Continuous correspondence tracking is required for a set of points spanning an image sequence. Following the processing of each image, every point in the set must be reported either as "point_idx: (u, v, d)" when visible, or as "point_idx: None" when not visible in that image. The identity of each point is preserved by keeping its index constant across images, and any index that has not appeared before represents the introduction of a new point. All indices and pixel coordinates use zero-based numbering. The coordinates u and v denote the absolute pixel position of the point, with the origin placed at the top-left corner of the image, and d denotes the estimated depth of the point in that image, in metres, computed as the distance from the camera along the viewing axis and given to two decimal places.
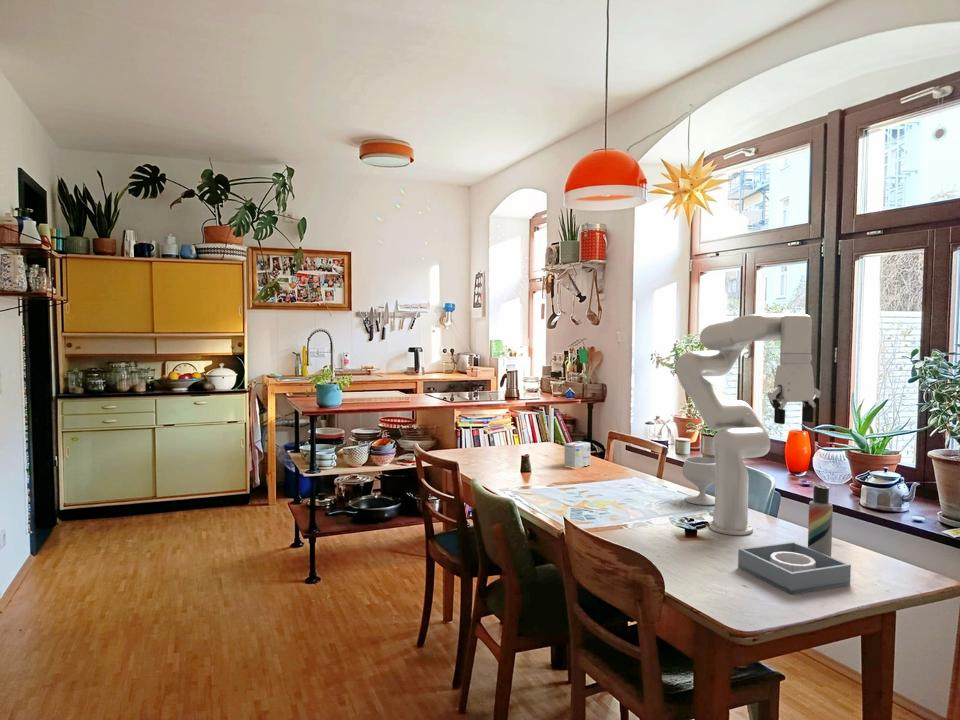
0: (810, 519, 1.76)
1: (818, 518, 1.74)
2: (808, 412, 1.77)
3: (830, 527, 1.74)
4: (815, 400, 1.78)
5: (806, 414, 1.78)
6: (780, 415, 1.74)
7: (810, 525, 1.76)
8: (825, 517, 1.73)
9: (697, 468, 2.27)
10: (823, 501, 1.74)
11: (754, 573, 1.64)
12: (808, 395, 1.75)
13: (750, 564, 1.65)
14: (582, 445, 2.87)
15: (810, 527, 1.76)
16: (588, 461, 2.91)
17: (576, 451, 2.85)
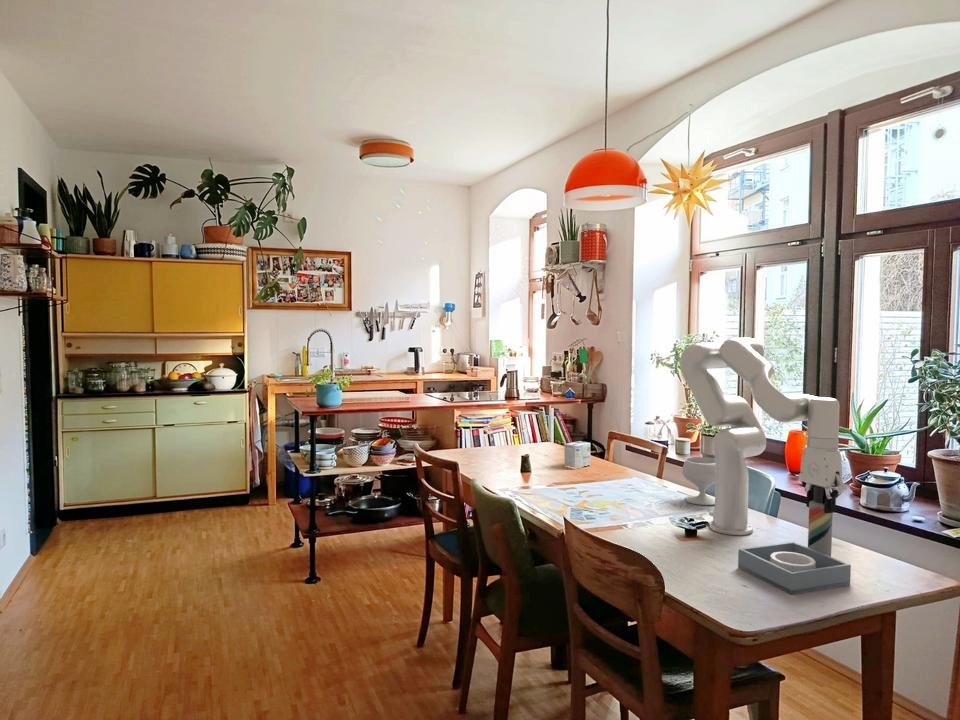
0: (810, 519, 1.76)
1: (818, 518, 1.74)
2: None
3: (830, 527, 1.74)
4: None
5: (812, 499, 1.78)
6: None
7: (810, 525, 1.76)
8: (825, 517, 1.73)
9: (697, 468, 2.27)
10: (823, 501, 1.74)
11: (754, 573, 1.64)
12: None
13: (750, 564, 1.65)
14: (582, 445, 2.87)
15: (810, 527, 1.76)
16: (588, 461, 2.91)
17: (576, 451, 2.85)
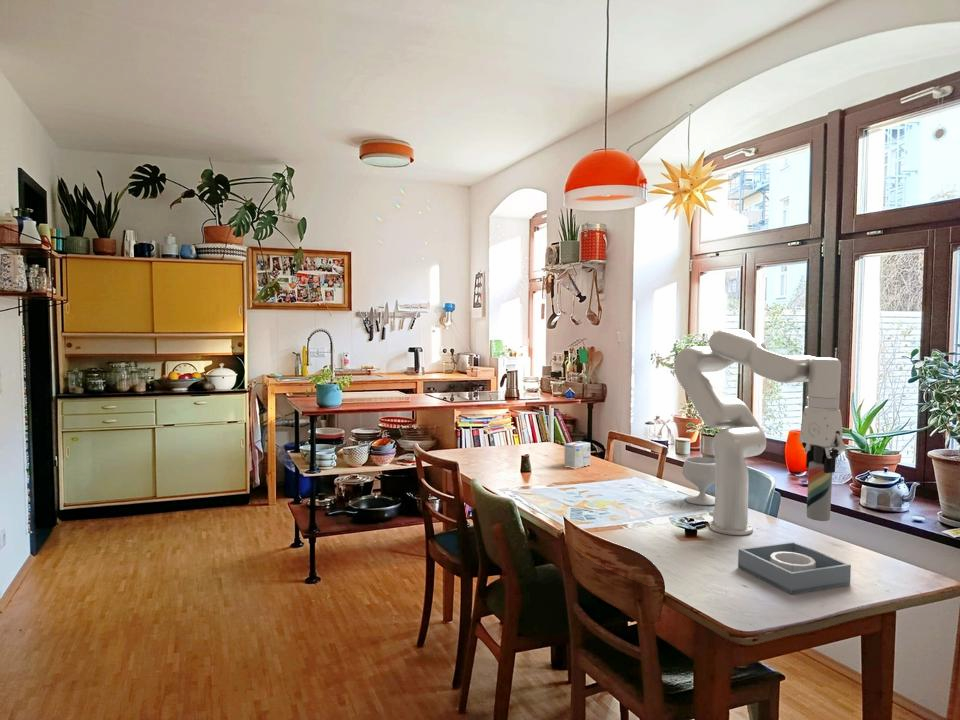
0: (810, 479, 1.75)
1: (818, 478, 1.73)
2: None
3: (829, 487, 1.73)
4: None
5: (812, 460, 1.78)
6: None
7: (809, 485, 1.75)
8: (825, 477, 1.73)
9: (697, 468, 2.27)
10: (823, 461, 1.73)
11: (754, 573, 1.64)
12: None
13: (750, 564, 1.65)
14: (582, 445, 2.87)
15: (809, 487, 1.75)
16: (588, 461, 2.91)
17: (576, 451, 2.85)
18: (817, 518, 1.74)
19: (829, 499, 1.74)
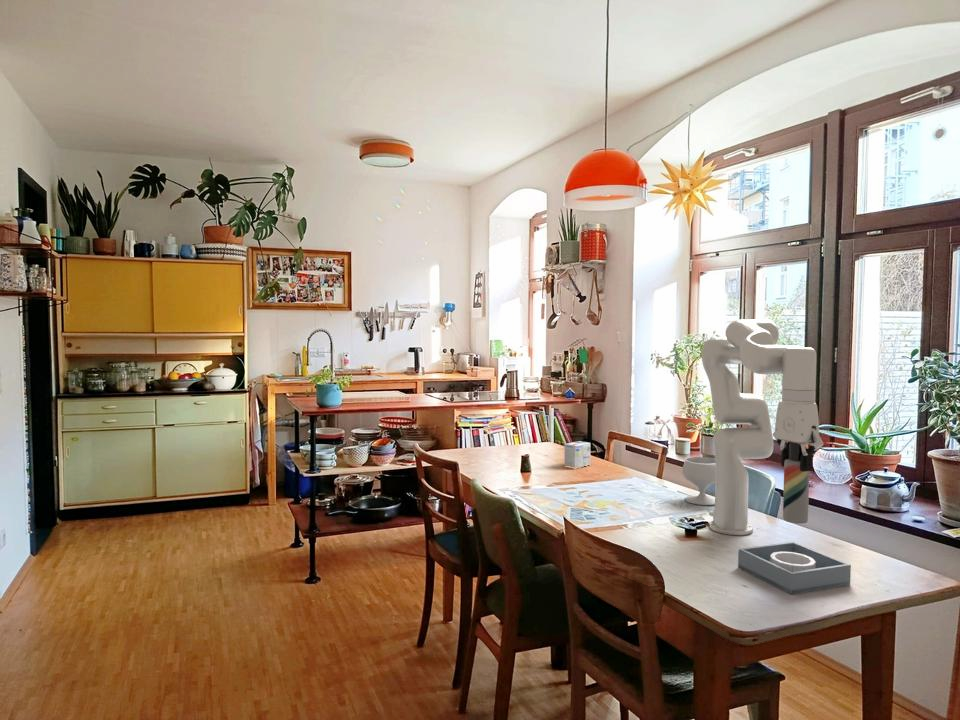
0: (785, 479, 1.63)
1: (794, 477, 1.60)
2: None
3: (807, 487, 1.60)
4: None
5: (788, 458, 1.65)
6: None
7: (785, 485, 1.63)
8: (801, 476, 1.60)
9: (697, 468, 2.27)
10: (799, 459, 1.61)
11: (754, 573, 1.64)
12: None
13: (750, 564, 1.65)
14: (582, 445, 2.87)
15: (785, 487, 1.63)
16: (588, 461, 2.91)
17: (576, 451, 2.85)
18: (794, 520, 1.61)
19: (806, 500, 1.61)
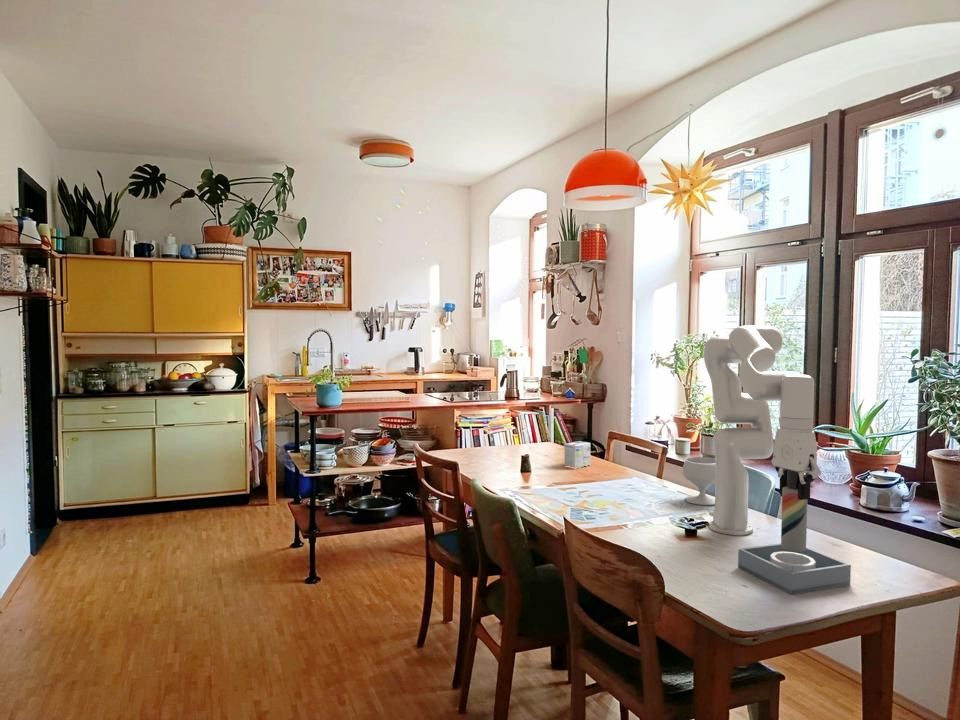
0: (783, 506, 1.62)
1: (792, 505, 1.60)
2: None
3: (805, 515, 1.60)
4: None
5: (786, 485, 1.65)
6: None
7: (783, 513, 1.62)
8: (799, 504, 1.60)
9: (697, 468, 2.27)
10: (797, 487, 1.60)
11: (754, 573, 1.64)
12: None
13: (750, 564, 1.65)
14: (582, 445, 2.87)
15: (783, 515, 1.62)
16: (588, 461, 2.91)
17: (576, 451, 2.85)
18: (792, 549, 1.61)
19: (804, 528, 1.60)
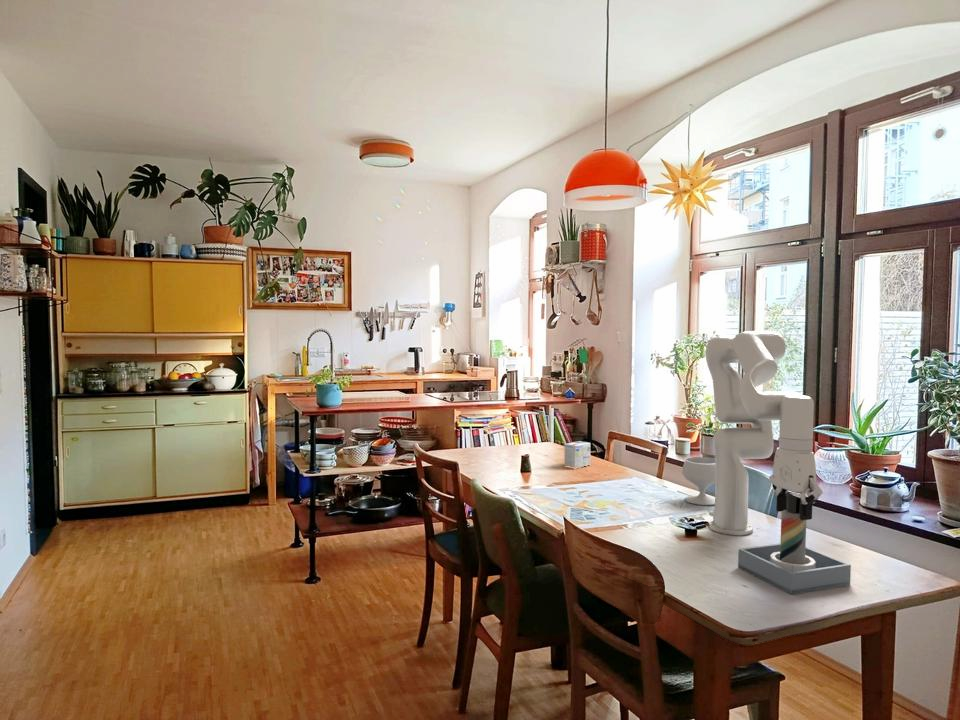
0: (782, 530, 1.63)
1: (791, 529, 1.61)
2: (785, 500, 1.66)
3: (803, 539, 1.61)
4: None
5: (783, 503, 1.66)
6: None
7: (782, 536, 1.63)
8: (798, 528, 1.60)
9: (697, 468, 2.27)
10: (796, 511, 1.61)
11: (754, 573, 1.64)
12: None
13: (750, 564, 1.65)
14: (582, 445, 2.87)
15: (782, 539, 1.63)
16: (588, 461, 2.91)
17: (576, 451, 2.85)
18: None
19: (803, 552, 1.61)
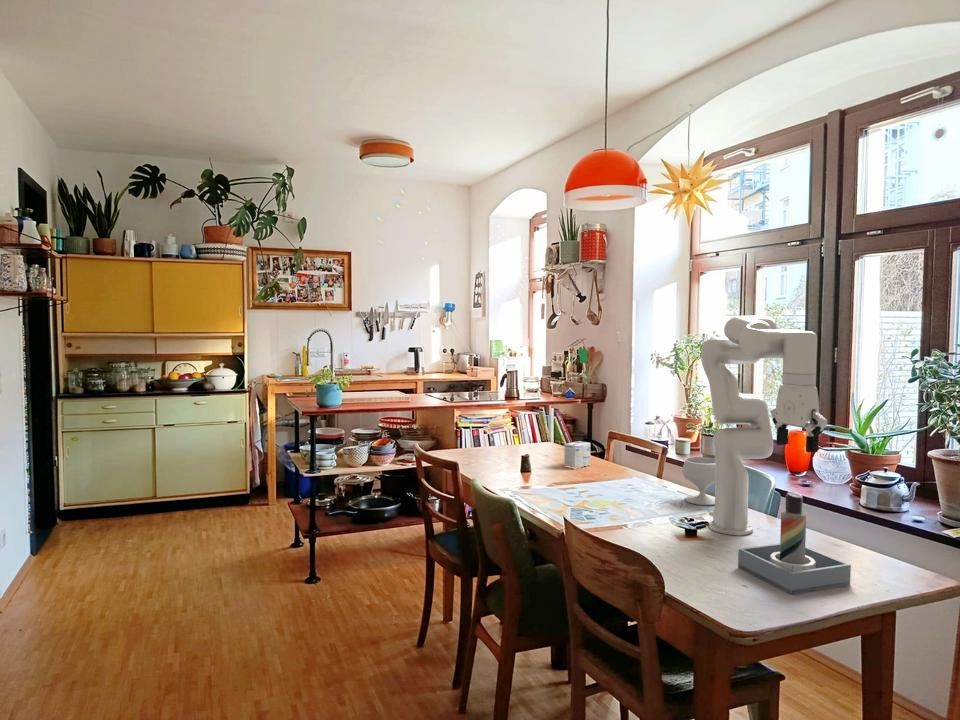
0: (782, 530, 1.63)
1: (790, 529, 1.61)
2: (785, 434, 1.67)
3: (803, 539, 1.61)
4: None
5: (783, 437, 1.67)
6: None
7: (782, 537, 1.63)
8: (798, 528, 1.60)
9: (697, 468, 2.27)
10: (796, 511, 1.61)
11: (754, 573, 1.64)
12: None
13: (750, 564, 1.65)
14: (582, 445, 2.87)
15: (782, 539, 1.63)
16: (588, 461, 2.91)
17: (576, 451, 2.85)
18: None
19: (803, 552, 1.61)
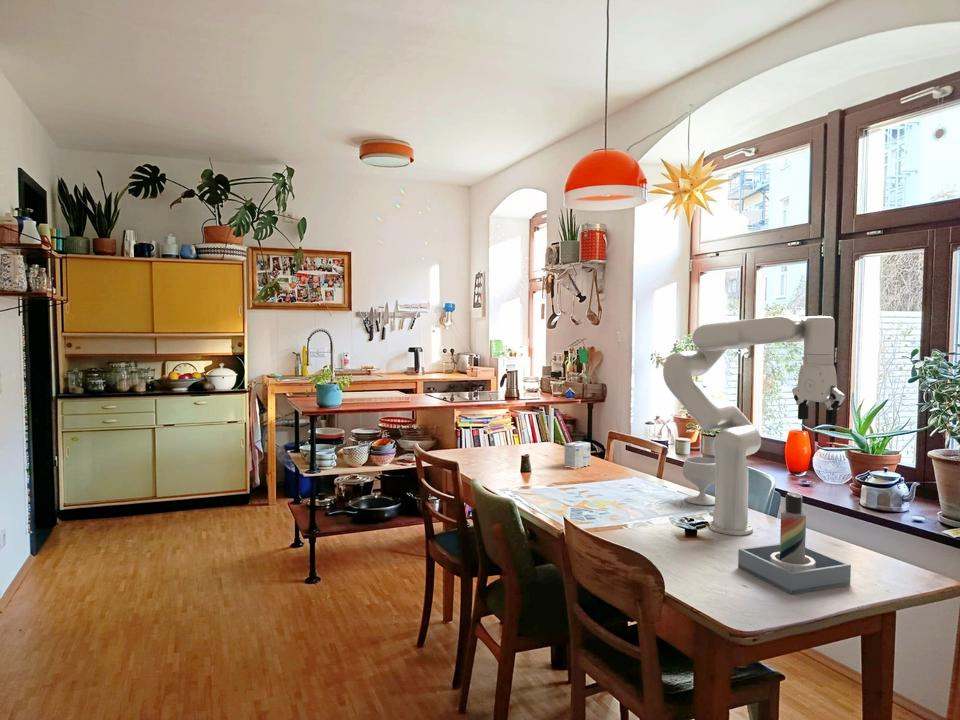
0: (782, 530, 1.63)
1: (790, 529, 1.61)
2: (806, 410, 1.86)
3: (803, 539, 1.61)
4: None
5: (804, 412, 1.86)
6: None
7: (782, 537, 1.63)
8: (798, 528, 1.60)
9: (697, 468, 2.27)
10: (796, 511, 1.61)
11: (754, 573, 1.64)
12: None
13: (750, 564, 1.65)
14: (582, 445, 2.87)
15: (782, 539, 1.63)
16: (588, 461, 2.91)
17: (576, 451, 2.85)
18: None
19: (803, 552, 1.61)
